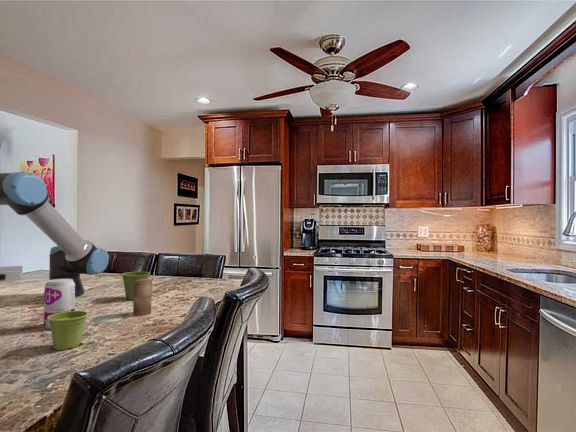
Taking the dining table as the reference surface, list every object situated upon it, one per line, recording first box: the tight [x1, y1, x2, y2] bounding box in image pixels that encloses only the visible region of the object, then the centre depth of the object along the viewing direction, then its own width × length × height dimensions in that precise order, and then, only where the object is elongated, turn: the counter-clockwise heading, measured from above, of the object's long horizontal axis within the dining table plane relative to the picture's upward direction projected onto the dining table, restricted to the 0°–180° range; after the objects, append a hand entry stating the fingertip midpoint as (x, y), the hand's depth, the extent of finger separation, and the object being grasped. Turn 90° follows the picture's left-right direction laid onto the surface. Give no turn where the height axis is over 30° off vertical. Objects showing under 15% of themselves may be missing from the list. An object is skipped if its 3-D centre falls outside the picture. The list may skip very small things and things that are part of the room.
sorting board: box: [92, 309, 157, 324], centre depth 115 cm, size 16×20×1 cm
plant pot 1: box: [47, 310, 89, 351], centre depth 90 cm, size 9×9×9 cm
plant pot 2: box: [120, 271, 151, 301], centre depth 146 cm, size 12×12×11 cm
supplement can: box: [43, 279, 76, 330], centre depth 107 cm, size 8×8×15 cm
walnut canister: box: [132, 278, 153, 316], centre depth 118 cm, size 6×6×12 cm
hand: (21, 272), depth 101 cm, fingers open, 13 cm apart
